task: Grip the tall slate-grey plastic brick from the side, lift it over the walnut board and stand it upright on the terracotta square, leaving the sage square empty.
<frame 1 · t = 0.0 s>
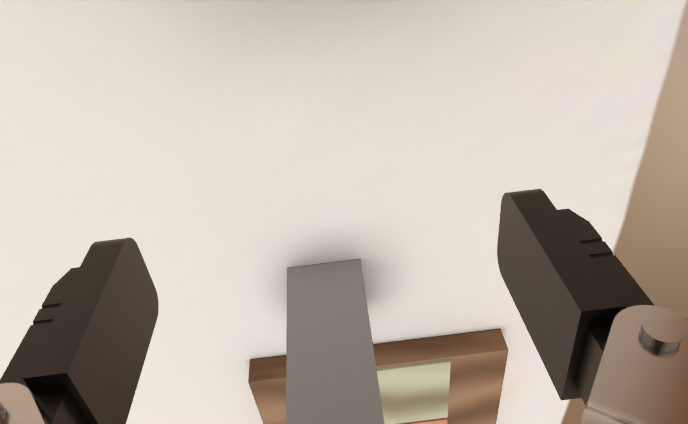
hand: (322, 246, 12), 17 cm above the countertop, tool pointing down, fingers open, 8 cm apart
walnut board: (380, 403, 47), on the countertop
slate brick: (327, 288, 37), on the countertop
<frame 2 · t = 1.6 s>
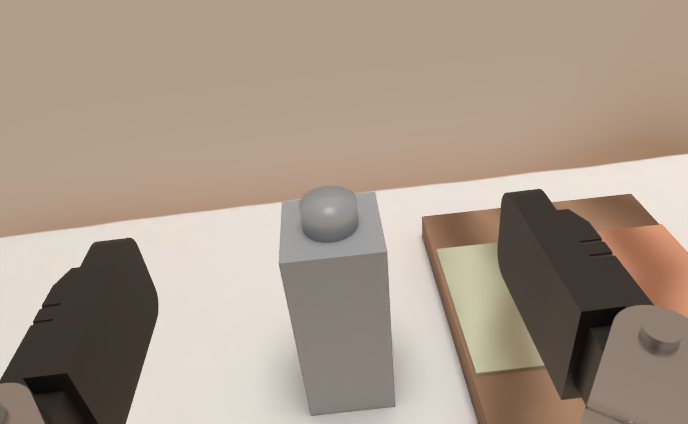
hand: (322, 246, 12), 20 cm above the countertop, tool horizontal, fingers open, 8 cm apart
walnut board: (574, 313, 36), on the countertop
slate brick: (350, 375, 33), on the countertop
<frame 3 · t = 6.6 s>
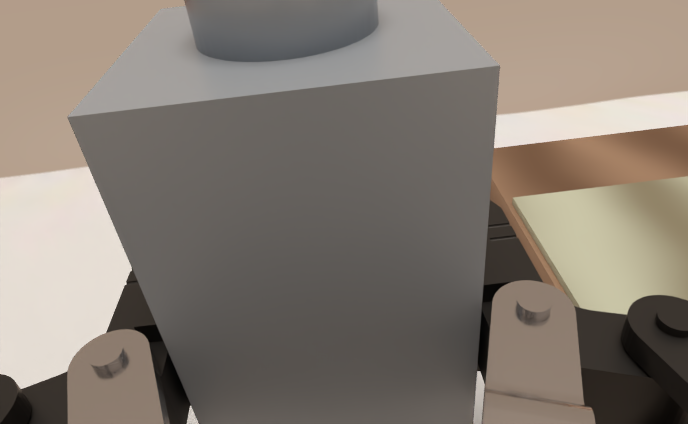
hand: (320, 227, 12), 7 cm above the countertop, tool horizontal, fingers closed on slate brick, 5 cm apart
when the fingers open (10 cm above the countertop, at t = 13.0 s): slate brick stays where it is, resting on walnut board.
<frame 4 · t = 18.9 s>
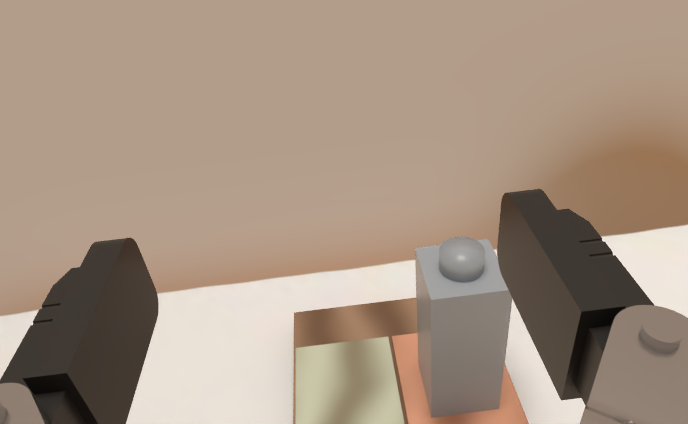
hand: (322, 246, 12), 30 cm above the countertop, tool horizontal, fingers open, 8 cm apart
walnut board: (403, 408, 42), on the countertop
slate brick: (456, 384, 41), point 2 cm above the countertop, touching walnut board
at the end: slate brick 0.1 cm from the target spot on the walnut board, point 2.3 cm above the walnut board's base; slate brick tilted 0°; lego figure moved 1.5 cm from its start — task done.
